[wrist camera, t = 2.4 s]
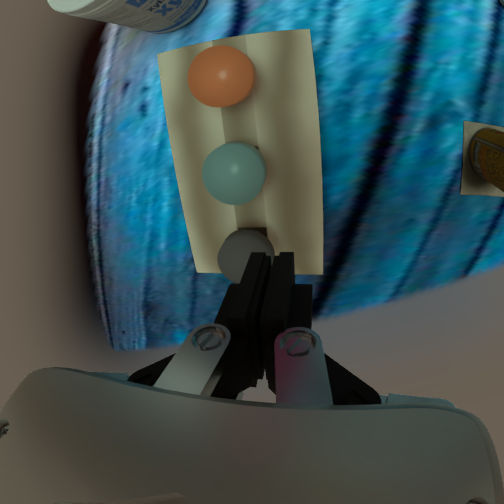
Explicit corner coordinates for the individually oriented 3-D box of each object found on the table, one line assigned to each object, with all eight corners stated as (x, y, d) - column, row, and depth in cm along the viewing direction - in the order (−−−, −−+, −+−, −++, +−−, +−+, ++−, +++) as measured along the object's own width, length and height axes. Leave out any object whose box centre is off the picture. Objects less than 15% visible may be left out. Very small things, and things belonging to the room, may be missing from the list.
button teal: (269, 133, 26) (260, 142, 21) (274, 185, 28) (266, 204, 24) (216, 138, 27) (197, 148, 22) (224, 187, 29) (207, 206, 25)
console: (310, 38, 23) (309, 29, 19) (322, 252, 35) (322, 274, 31) (176, 57, 26) (157, 54, 22) (209, 252, 38) (197, 272, 34)
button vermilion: (260, 49, 22) (248, 40, 17) (266, 101, 24) (255, 103, 20) (206, 58, 23) (183, 52, 19) (212, 107, 25) (191, 111, 21)
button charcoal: (276, 214, 30) (269, 237, 25) (280, 258, 32) (274, 286, 28) (228, 215, 31) (213, 238, 26) (234, 257, 33) (222, 285, 29)
